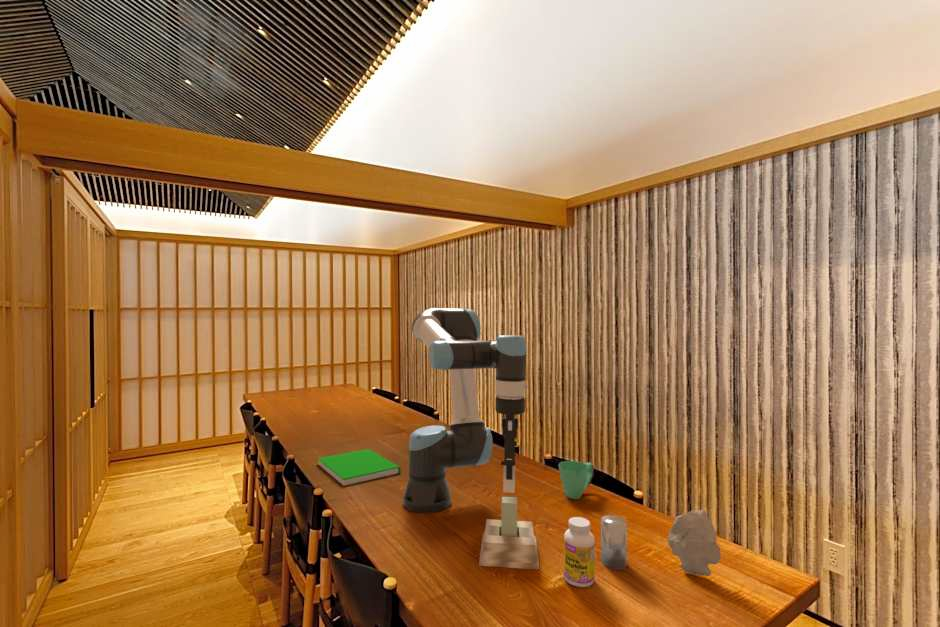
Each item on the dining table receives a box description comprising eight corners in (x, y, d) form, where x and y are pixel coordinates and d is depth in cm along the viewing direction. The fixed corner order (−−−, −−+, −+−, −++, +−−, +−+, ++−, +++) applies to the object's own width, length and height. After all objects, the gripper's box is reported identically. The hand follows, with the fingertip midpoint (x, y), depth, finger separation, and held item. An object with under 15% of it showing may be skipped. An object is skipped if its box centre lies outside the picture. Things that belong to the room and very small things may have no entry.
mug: (575, 504, 134) (575, 472, 134) (552, 494, 142) (552, 464, 142) (603, 494, 143) (604, 464, 143) (580, 485, 151) (580, 456, 151)
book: (343, 487, 147) (343, 478, 147) (317, 465, 170) (317, 458, 170) (400, 474, 161) (400, 466, 161) (369, 455, 183) (369, 448, 183)
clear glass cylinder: (603, 568, 99) (604, 525, 99) (598, 555, 105) (598, 514, 105) (629, 570, 98) (629, 526, 99) (622, 556, 104) (623, 515, 104)
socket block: (479, 565, 100) (479, 544, 100) (482, 536, 114) (483, 517, 114) (539, 569, 98) (539, 547, 98) (535, 539, 112) (535, 520, 112)
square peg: (501, 552, 104) (501, 502, 105) (501, 544, 108) (502, 496, 108) (516, 552, 104) (517, 503, 104) (516, 545, 108) (517, 497, 108)
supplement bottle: (559, 582, 94) (559, 523, 94) (569, 567, 99) (569, 512, 100) (589, 592, 90) (589, 531, 90) (597, 577, 96) (598, 519, 96)
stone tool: (665, 569, 99) (665, 504, 99) (669, 562, 102) (669, 499, 102) (719, 588, 92) (719, 518, 92) (722, 580, 95) (721, 512, 95)
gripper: (527, 407, 94) (525, 503, 94) (523, 388, 119) (522, 464, 119) (493, 406, 95) (491, 501, 95) (497, 387, 120) (495, 463, 120)
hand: (509, 480), depth 107 cm, fingers open, 13 cm apart
